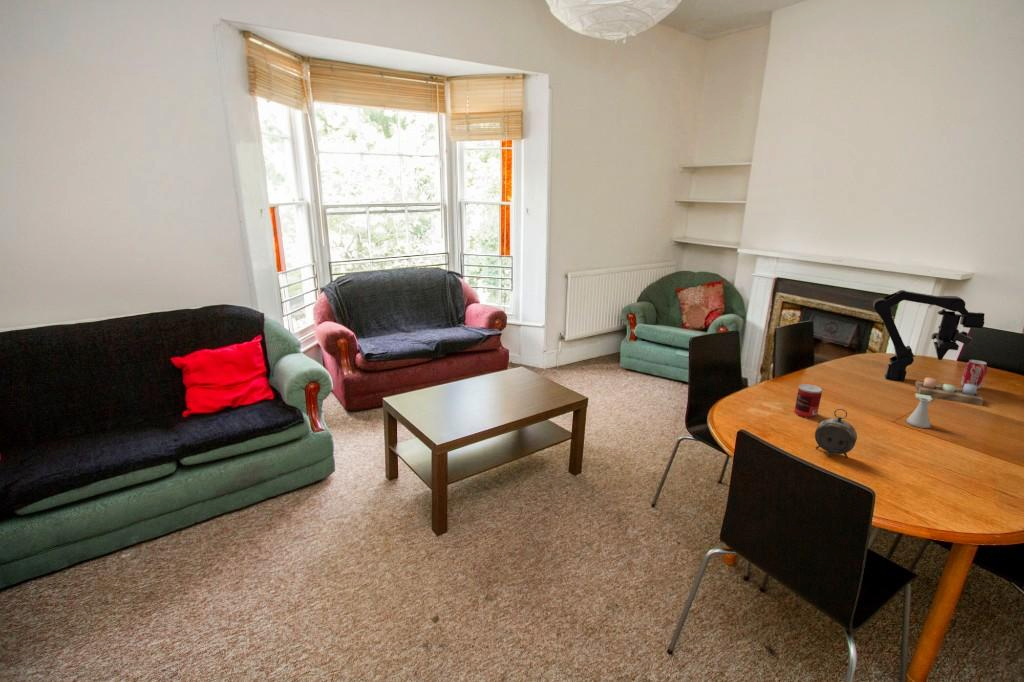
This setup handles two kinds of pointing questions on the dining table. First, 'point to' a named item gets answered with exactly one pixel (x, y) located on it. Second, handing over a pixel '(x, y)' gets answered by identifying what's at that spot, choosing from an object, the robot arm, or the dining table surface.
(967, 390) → the grey rounded piece
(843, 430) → the alarm clock
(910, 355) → the robot arm
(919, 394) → the chip
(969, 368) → the soda can
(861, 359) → the dining table surface
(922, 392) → the button board
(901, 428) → the dining table surface
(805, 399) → the canned food
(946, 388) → the sage button
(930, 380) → the terracotta button
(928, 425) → the flask
